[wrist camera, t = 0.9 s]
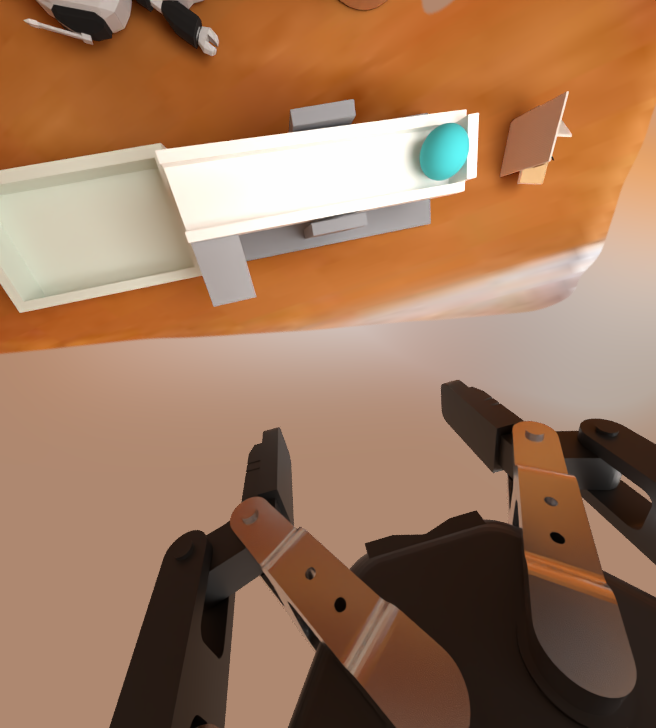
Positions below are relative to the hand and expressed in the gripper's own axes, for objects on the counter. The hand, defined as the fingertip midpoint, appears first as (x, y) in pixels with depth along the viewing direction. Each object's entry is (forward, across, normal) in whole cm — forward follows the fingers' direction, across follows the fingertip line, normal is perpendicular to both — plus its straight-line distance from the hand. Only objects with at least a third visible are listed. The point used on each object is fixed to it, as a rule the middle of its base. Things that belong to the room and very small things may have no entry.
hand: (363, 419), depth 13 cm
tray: (+27, +20, -13) cm, 36 cm away
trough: (+21, -3, -10) cm, 23 cm away
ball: (+17, -14, -12) cm, 25 cm away
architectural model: (+28, -29, -12) cm, 42 cm away
